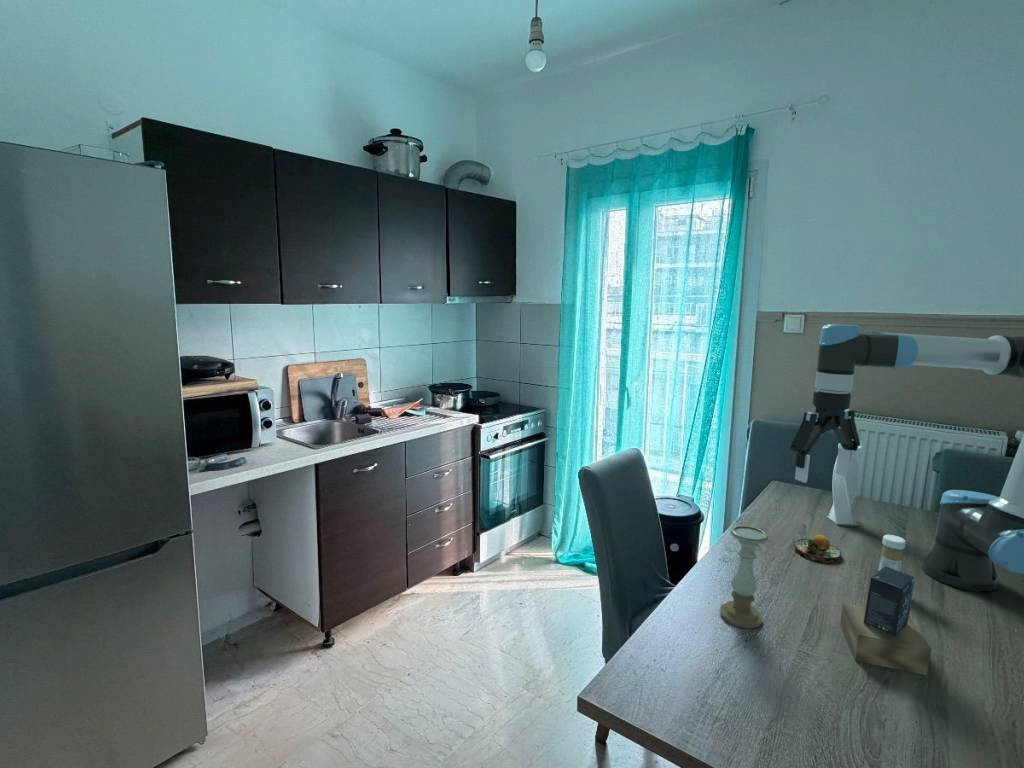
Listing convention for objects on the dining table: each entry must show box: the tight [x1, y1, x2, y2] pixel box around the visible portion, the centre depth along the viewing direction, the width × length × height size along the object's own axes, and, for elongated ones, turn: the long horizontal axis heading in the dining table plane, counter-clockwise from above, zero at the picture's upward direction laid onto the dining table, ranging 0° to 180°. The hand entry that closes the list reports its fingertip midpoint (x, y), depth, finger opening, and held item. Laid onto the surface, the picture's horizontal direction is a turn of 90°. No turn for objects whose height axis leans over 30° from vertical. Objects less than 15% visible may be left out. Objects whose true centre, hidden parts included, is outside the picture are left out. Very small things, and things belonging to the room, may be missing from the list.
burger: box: [793, 534, 842, 564], centre depth 151 cm, size 12×12×8 cm
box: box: [864, 566, 916, 637], centre depth 108 cm, size 8×6×11 cm
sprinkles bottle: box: [878, 534, 907, 572], centre depth 132 cm, size 5×5×14 cm
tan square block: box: [839, 602, 932, 676], centre depth 109 cm, size 12×12×6 cm
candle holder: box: [719, 524, 769, 629], centre depth 118 cm, size 9×9×20 cm
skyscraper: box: [824, 440, 863, 527], centre depth 171 cm, size 8×8×28 cm
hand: (821, 478), depth 128 cm, fingers open, 13 cm apart
